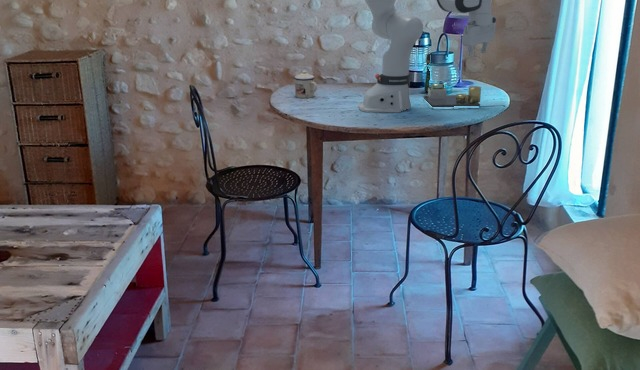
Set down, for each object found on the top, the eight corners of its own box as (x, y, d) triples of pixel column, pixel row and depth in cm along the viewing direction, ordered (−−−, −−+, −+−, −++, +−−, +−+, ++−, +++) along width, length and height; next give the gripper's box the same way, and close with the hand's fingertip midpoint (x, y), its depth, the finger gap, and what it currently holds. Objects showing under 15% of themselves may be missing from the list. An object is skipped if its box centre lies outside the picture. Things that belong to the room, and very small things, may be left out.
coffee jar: (434, 95, 300) (436, 54, 293) (421, 92, 305) (423, 52, 299) (448, 92, 305) (450, 51, 299) (435, 89, 311) (437, 50, 305)
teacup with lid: (290, 96, 300) (290, 71, 296) (304, 93, 306) (304, 68, 302) (309, 100, 292) (309, 74, 288) (323, 96, 298) (323, 71, 294)
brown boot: (453, 99, 279) (454, 85, 277) (459, 97, 283) (460, 83, 280) (476, 103, 272) (477, 89, 270) (482, 101, 276) (483, 87, 274)
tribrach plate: (432, 109, 273) (433, 90, 270) (423, 100, 290) (424, 82, 287) (480, 108, 274) (481, 89, 271) (468, 99, 291) (469, 81, 288)
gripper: (473, 23, 255) (471, 58, 260) (498, 17, 269) (496, 51, 274) (459, 22, 259) (457, 57, 264) (485, 17, 273) (483, 50, 278)
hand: (477, 54), depth 269 cm, fingers open, 8 cm apart
